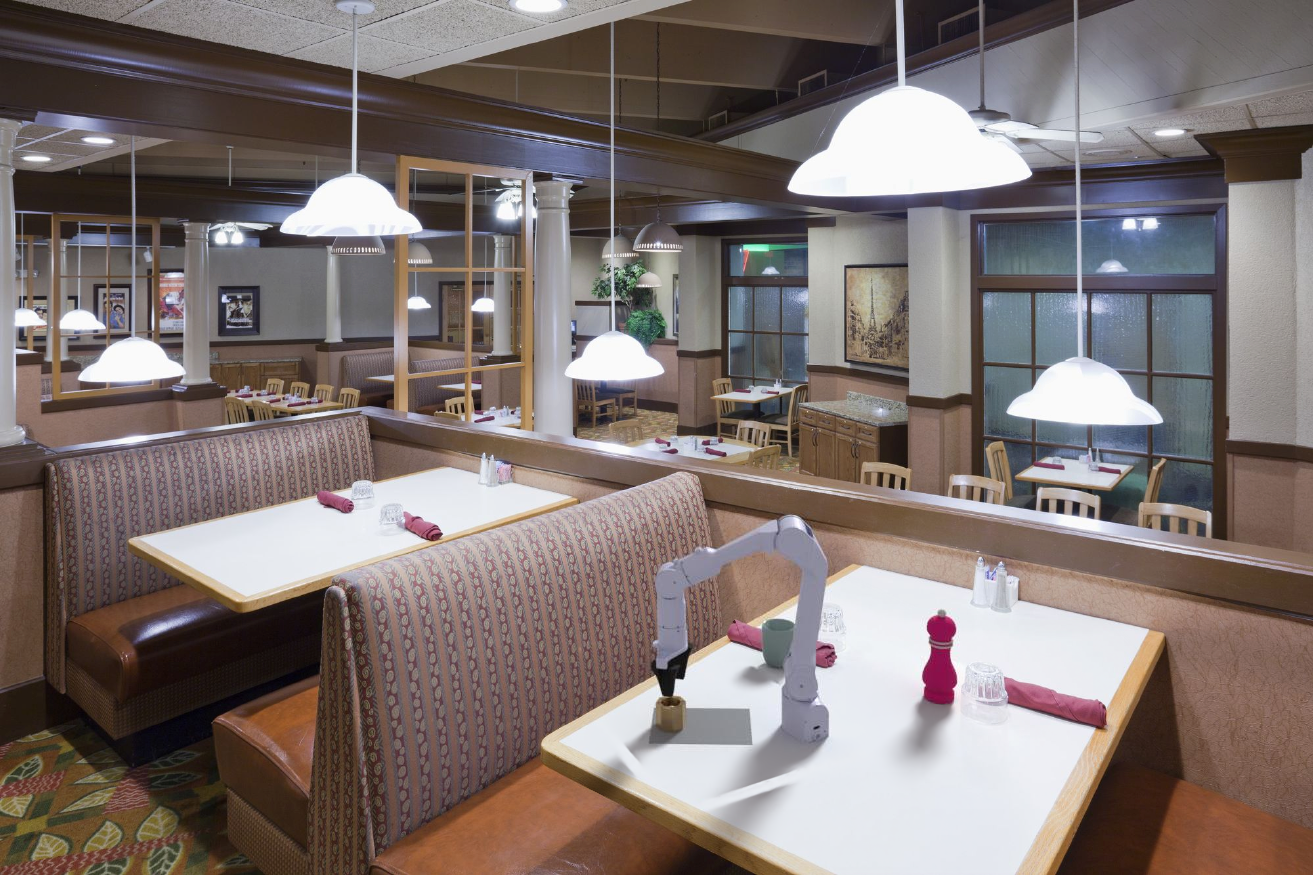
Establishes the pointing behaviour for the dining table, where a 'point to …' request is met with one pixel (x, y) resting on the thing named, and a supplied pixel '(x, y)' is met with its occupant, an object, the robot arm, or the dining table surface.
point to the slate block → (708, 728)
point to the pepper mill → (940, 660)
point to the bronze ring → (671, 714)
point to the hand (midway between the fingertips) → (673, 687)
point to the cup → (776, 641)
